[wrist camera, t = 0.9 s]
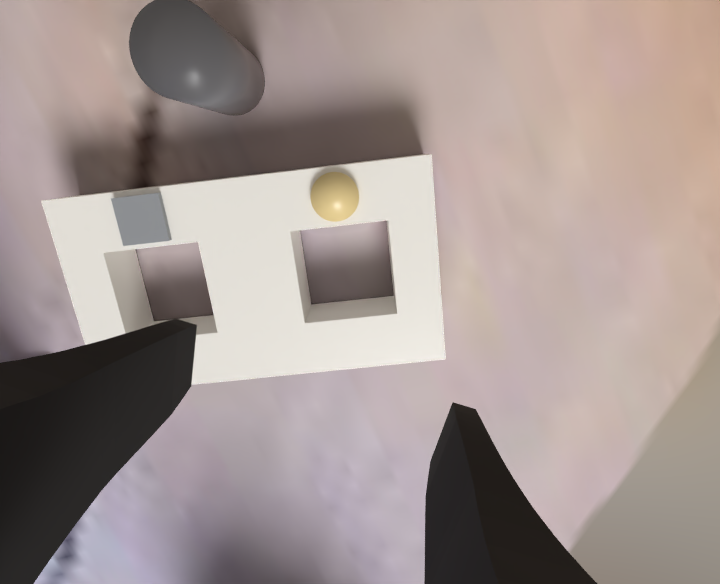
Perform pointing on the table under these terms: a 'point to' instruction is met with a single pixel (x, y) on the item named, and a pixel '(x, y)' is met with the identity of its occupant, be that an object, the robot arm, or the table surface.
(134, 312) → the socket box
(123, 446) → the robot arm
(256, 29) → the table surface
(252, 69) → the plug
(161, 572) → the table surface
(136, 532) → the table surface
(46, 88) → the table surface
